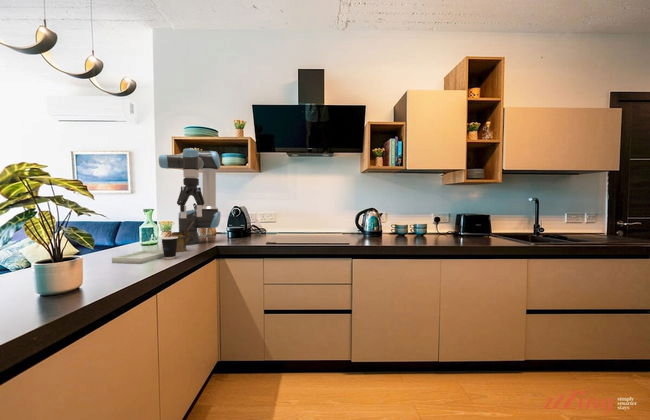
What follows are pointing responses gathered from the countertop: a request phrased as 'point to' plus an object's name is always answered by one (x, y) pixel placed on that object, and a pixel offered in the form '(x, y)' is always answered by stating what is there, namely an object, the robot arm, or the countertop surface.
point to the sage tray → (139, 257)
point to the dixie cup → (169, 247)
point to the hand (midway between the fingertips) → (191, 217)
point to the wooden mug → (182, 239)
